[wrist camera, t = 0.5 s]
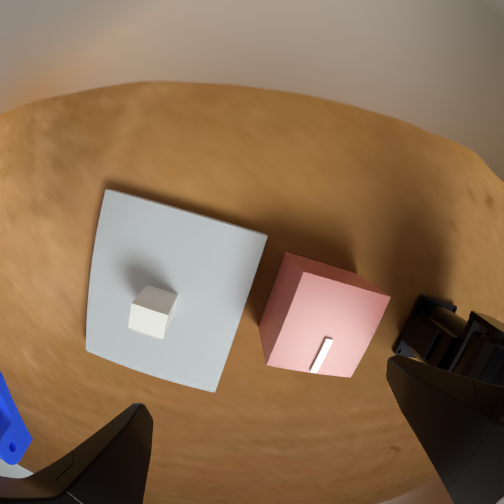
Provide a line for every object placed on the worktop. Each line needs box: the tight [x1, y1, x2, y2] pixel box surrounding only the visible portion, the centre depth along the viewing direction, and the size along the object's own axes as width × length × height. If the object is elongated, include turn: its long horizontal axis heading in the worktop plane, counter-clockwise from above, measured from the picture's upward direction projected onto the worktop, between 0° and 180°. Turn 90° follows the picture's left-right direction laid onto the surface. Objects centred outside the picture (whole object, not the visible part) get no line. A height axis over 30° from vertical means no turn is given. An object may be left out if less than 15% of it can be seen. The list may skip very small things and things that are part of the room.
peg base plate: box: [86, 189, 268, 392], centre depth 18 cm, size 12×14×5 cm
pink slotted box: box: [258, 251, 391, 377], centre depth 18 cm, size 6×6×6 cm
